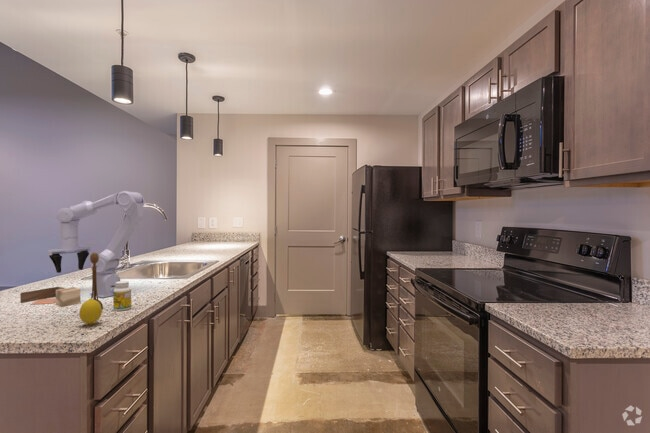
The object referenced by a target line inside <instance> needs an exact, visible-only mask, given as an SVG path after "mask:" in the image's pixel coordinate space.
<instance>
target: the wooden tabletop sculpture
mask: <svg viewBox="0 0 650 433" xmlns="http://www.w3.org/2000/svg"><path fill="white" fill-rule="evenodd" d="M98 260H99V254H98V252H92V253H91V254H90V256H89V261H90V264H91V263H93V267H92V269H91V274H92V275H91V276H92V278H91V279H92V280H91V282H92V283H91V284H92V285H91V293H92V295H90V296H91V298H90V299H93V300H96V301H98V302H99V303H100V305H101V308H102V310H103V309H104V306H103V303H102V302H101V300H99V297H98V294H97V274H96V267H97V266H96V263H97V262H98Z"/></svg>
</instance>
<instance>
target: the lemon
mask: <svg viewBox="0 0 650 433" xmlns="http://www.w3.org/2000/svg"><path fill="white" fill-rule="evenodd" d="M102 312H103V309H102V308H101V305H100V303H99V302H98V301H96V300H93V298H92V299H91V298H89V299H87V300H86V301H84V302H83V303H82V304H81V306H80V309H79V318H80V320H81V322H83V323H85V324H88V325H90V326H92V325H93V324H94V323H96V322H98V320H99V319H100V318H101V316H102Z"/></svg>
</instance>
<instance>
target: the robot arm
mask: <svg viewBox="0 0 650 433" xmlns="http://www.w3.org/2000/svg"><path fill="white" fill-rule="evenodd" d="M145 203H146V201H145V199H144V196H143V195H142V193H140V192H137V191H128V190H121V191H120V192H115V193H113V194H110V195H108V196H106V197H103V198H101V199H99V200H96V201H90V200H82V201H81V203H78V204H76V205H74V204H73V205H70V207H69V208H67V207H61V208H60V209H59V210H58V211H57V212H56V219H57V220H58V222H59V223H60V224H59V226H60V232H59V233H60V248H54V249H48V250H46V256H49V259H50V260H51V261H52V263H53V265H54V267H55V272H56V273H59V274H61V273H62V261H63V260H62V259H63V255H65V254H66V255H67V254H73V253H74V254H75V253H76V254H77V255H76V256H77V261H78V263H77V266H78V270H82V271H83V270H84V265H85V264H86V263H85V262H86V260H87V258H88V257H89V255H90V252H92V250H91V249H92V248H91V246H79V225H80V224H79V223H80V221H81V219H84V218H87V217H90V216H92V215H95V214H96V213H97V211H98V210H102V209H103V208H104V209H105V208H107V207H110V206H114V205H119V207H120V208H121V209H122V210H123V211H124V213H125V215H126V216H125V218H124V220H123V221H122V223H121V224H120V226H119V228H117V231H116V232H115V234H114V235H113V237H112V238H111V240H110V242H109V243H108V245H107V246H106V248H105V249H104V250H103V251H102V252H100V253H99V254H98V256H99V260H98V262H97V263H96V266H97V267H96V274H97V294H98V298H101V299H102V298H108V297H113V290H114V289H115V288H116V286H115V283H116V282H119V281H121V278H120V276H119V275H118V274H117V272H116V271H117V268H118V267H119V265H120V259H121V258H122V255H121V253H122V251H123V249H124V248H125V246H126V245H127V244H128V242H129V240H130V238H132V235H133V234H134V232H135V231H136V229H137V228H138V225H139V224H140V223H141V221H142V219H143V216H144V205H145ZM92 267H93V263H91V262H90V270H92ZM89 295H90V296H92V292H91V293H89Z"/></svg>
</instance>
